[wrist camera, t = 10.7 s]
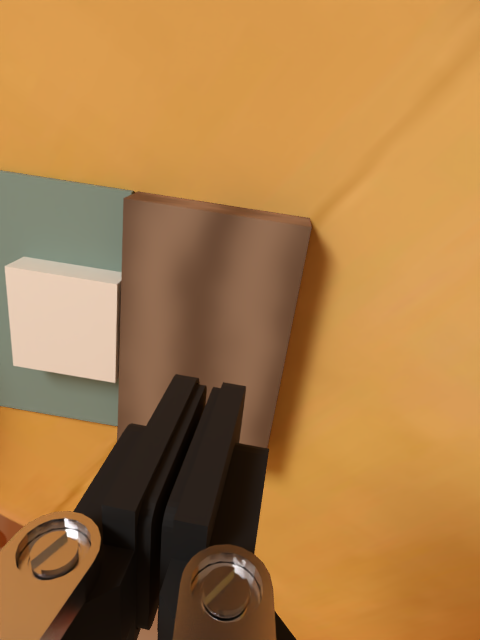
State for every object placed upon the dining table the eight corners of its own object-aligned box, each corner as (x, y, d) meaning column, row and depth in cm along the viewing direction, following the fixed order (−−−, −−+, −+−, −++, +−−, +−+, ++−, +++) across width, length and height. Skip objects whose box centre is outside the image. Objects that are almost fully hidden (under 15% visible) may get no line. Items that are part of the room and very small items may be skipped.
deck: (309, 218, 30) (311, 227, 28) (264, 447, 39) (262, 472, 36) (137, 191, 31) (123, 198, 28) (129, 424, 39) (117, 447, 36)
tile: (129, 273, 33) (117, 284, 31) (126, 366, 36) (115, 382, 34) (24, 256, 33) (4, 266, 31) (30, 350, 36) (13, 365, 34)
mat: (133, 191, 31) (131, 192, 30) (125, 423, 39) (123, 427, 39) (-43, 163, 31) (-48, 164, 31) (-15, 399, 40) (-18, 402, 39)
